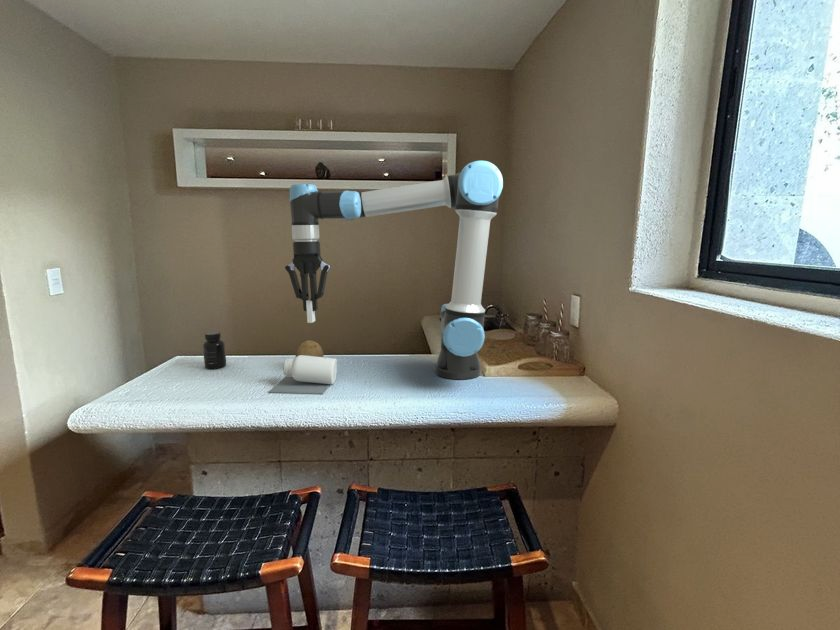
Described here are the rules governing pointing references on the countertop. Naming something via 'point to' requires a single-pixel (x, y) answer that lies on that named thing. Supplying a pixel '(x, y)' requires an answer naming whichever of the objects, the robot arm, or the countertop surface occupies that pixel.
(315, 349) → the natural sponge
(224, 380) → the countertop surface
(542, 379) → the countertop surface
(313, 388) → the mat
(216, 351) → the supplement bottle
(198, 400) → the countertop surface
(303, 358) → the pill bottle
